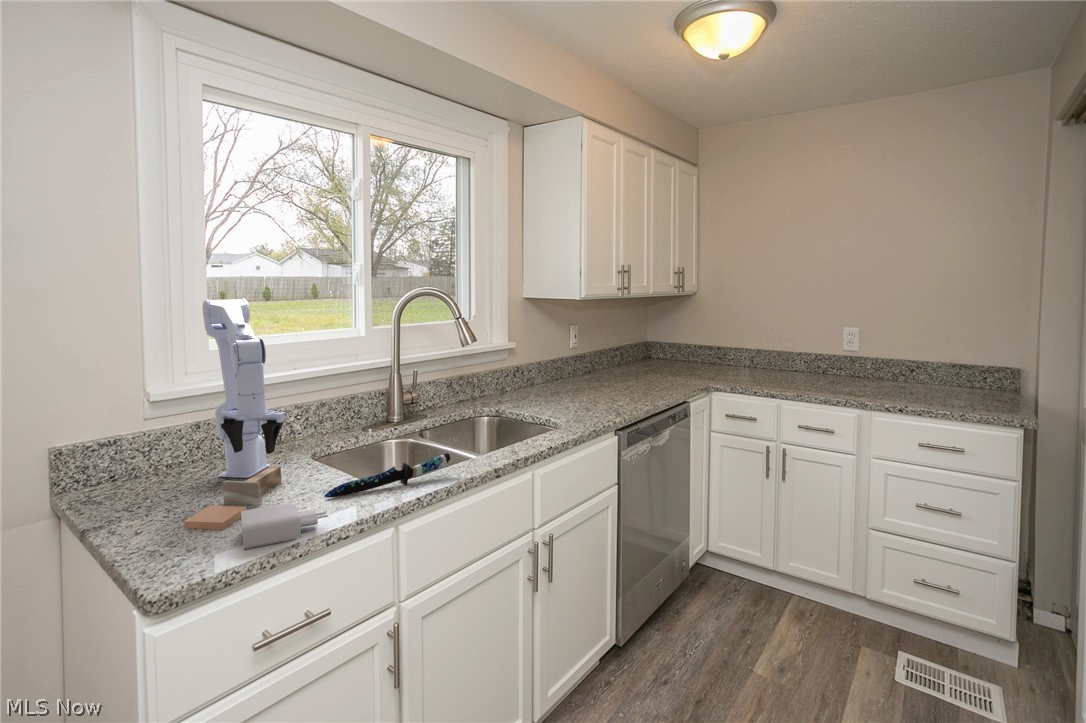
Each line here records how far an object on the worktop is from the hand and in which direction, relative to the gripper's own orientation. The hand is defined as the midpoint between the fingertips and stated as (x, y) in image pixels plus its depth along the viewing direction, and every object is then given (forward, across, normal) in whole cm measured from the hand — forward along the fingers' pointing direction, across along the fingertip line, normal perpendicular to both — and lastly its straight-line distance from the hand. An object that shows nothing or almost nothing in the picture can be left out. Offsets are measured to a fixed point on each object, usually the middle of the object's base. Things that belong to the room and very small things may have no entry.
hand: (254, 452), depth 132 cm
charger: (+10, +18, -20) cm, 29 cm away
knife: (+10, +29, +7) cm, 31 cm away
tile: (+9, +1, -12) cm, 15 cm away
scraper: (+9, +1, -1) cm, 10 cm away
